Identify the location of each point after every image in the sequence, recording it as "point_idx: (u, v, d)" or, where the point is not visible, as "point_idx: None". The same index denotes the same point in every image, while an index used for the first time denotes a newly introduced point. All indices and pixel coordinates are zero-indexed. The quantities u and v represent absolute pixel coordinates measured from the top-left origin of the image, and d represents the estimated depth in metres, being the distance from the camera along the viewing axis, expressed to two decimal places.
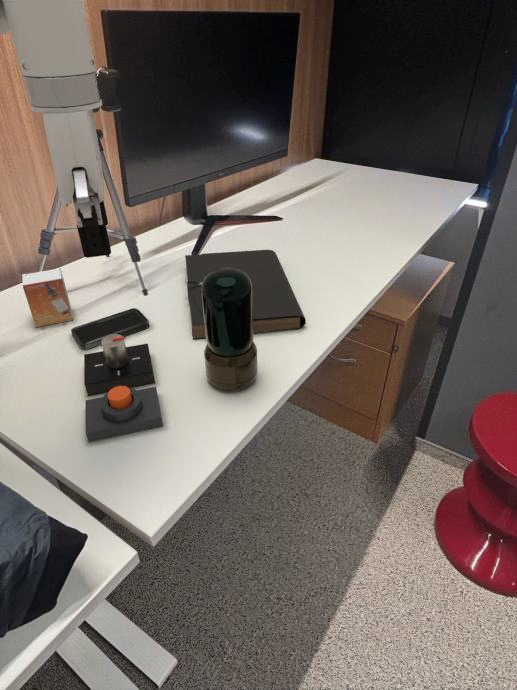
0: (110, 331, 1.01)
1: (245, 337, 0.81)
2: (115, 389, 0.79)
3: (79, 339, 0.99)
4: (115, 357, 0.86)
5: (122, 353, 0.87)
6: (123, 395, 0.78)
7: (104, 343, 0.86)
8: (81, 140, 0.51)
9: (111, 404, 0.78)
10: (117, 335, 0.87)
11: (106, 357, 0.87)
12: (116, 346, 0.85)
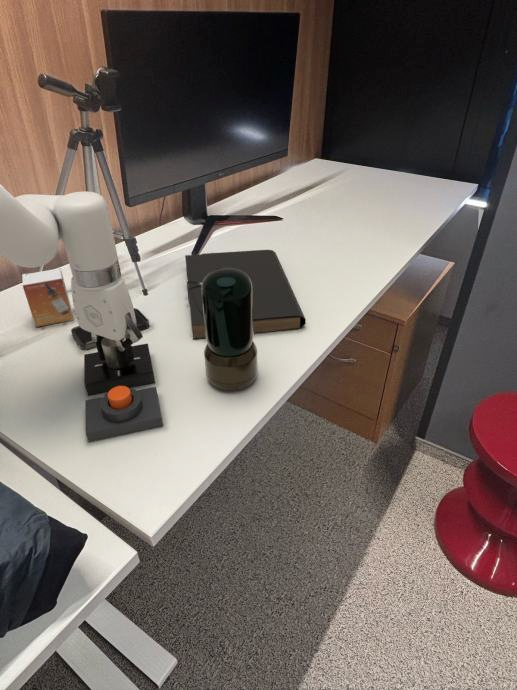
0: None
1: (245, 337, 0.81)
2: (115, 389, 0.79)
3: (79, 339, 0.99)
4: (115, 357, 0.86)
5: None
6: (123, 395, 0.78)
7: (104, 343, 0.86)
8: (126, 296, 0.79)
9: (111, 404, 0.78)
10: None
11: (106, 357, 0.87)
12: (116, 346, 0.85)
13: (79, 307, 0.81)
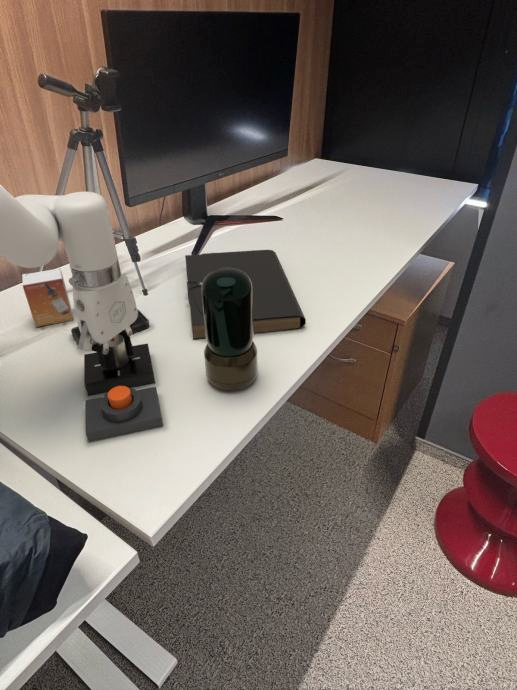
0: None
1: (245, 337, 0.81)
2: (115, 389, 0.79)
3: None
4: None
5: None
6: (123, 395, 0.78)
7: (115, 344, 0.85)
8: None
9: (111, 404, 0.78)
10: None
11: (122, 356, 0.87)
12: (123, 337, 0.87)
13: (104, 316, 0.79)
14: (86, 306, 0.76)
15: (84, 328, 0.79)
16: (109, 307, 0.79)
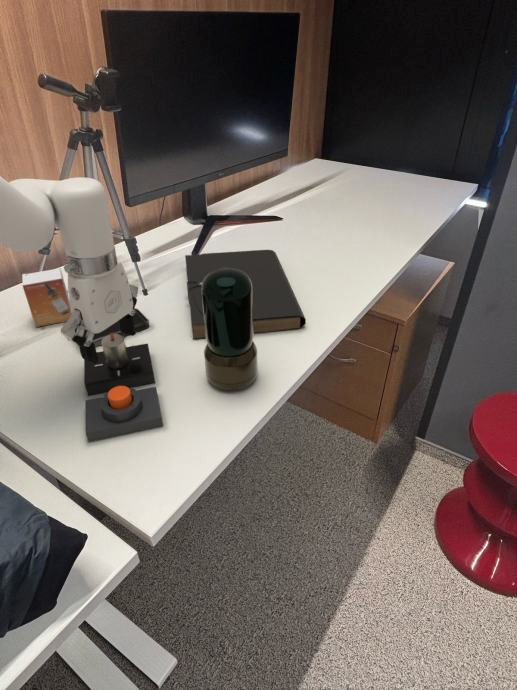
0: (110, 331, 1.01)
1: (245, 337, 0.81)
2: (115, 389, 0.79)
3: None
4: None
5: None
6: (123, 395, 0.78)
7: (116, 344, 0.85)
8: None
9: (111, 404, 0.78)
10: (105, 338, 0.87)
11: (122, 356, 0.87)
12: (123, 337, 0.87)
13: (99, 305, 0.77)
14: (81, 294, 0.75)
15: (75, 313, 0.77)
16: (104, 296, 0.78)
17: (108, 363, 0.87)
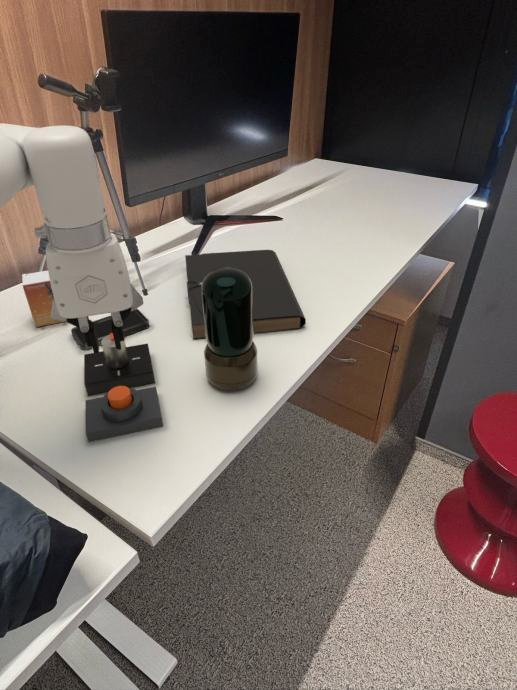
0: (110, 331, 1.01)
1: (245, 337, 0.81)
2: (115, 389, 0.79)
3: (79, 339, 0.99)
4: None
5: None
6: (123, 395, 0.78)
7: None
8: None
9: (111, 404, 0.78)
10: (105, 338, 0.87)
11: (122, 356, 0.87)
12: None
13: (66, 287, 0.63)
14: (47, 267, 0.62)
15: None
16: (76, 279, 0.63)
17: (108, 363, 0.87)
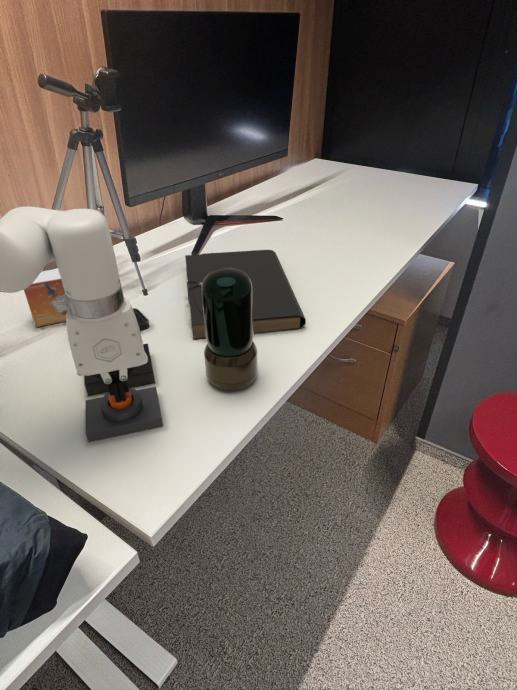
0: None
1: (245, 337, 0.81)
2: None
3: None
4: None
5: None
6: None
7: None
8: None
9: (112, 407, 0.78)
10: None
11: None
12: None
13: (84, 349, 0.69)
14: (67, 331, 0.68)
15: None
16: (93, 342, 0.69)
17: None
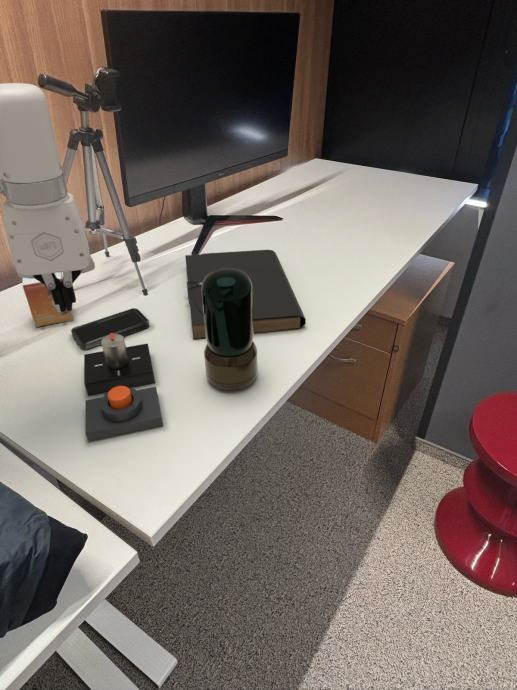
0: (110, 331, 1.01)
1: (245, 337, 0.81)
2: (115, 389, 0.79)
3: (79, 339, 0.99)
4: None
5: None
6: (123, 395, 0.78)
7: (116, 344, 0.85)
8: None
9: (111, 404, 0.78)
10: (105, 338, 0.87)
11: (122, 356, 0.87)
12: (123, 337, 0.87)
13: (23, 243, 0.65)
14: (4, 222, 0.64)
15: None
16: (32, 235, 0.65)
17: (108, 363, 0.87)
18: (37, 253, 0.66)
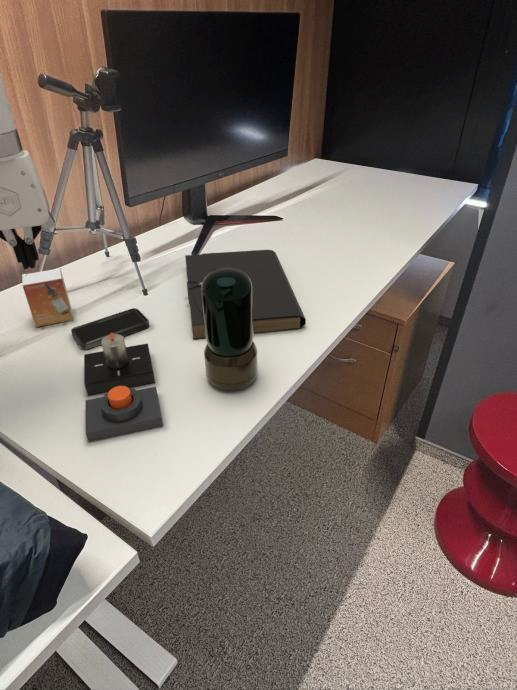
0: (110, 331, 1.01)
1: (245, 337, 0.81)
2: (115, 389, 0.79)
3: (79, 339, 0.99)
4: None
5: None
6: (123, 395, 0.78)
7: (116, 344, 0.85)
8: (36, 169, 0.71)
9: (111, 404, 0.78)
10: (105, 338, 0.87)
11: (122, 356, 0.87)
12: (123, 337, 0.87)
13: None
14: None
15: None
16: None
17: (108, 363, 0.87)
18: None
